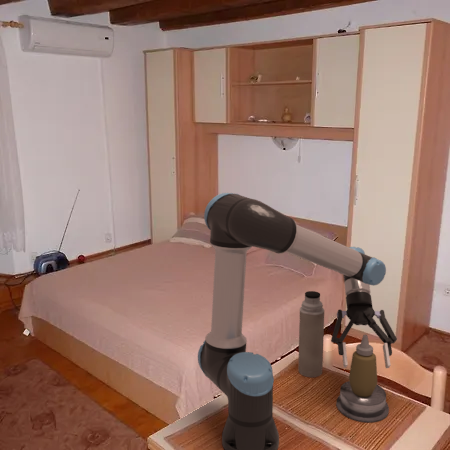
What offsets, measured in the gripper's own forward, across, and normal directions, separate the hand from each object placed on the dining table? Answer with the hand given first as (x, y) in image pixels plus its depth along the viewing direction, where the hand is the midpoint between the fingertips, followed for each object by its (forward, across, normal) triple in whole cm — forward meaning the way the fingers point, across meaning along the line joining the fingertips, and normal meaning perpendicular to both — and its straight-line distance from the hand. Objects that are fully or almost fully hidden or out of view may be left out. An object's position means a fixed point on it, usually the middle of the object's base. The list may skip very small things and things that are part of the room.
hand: (366, 366), depth 139 cm
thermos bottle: (-6, +13, -27) cm, 30 cm away
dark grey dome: (+8, 0, -12) cm, 15 cm away
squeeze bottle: (+5, 0, -9) cm, 10 cm away
